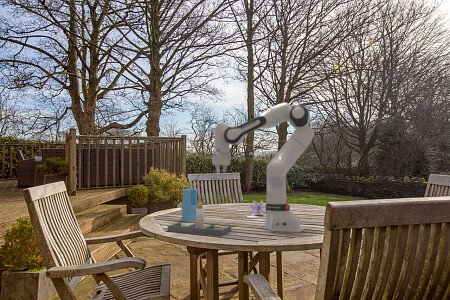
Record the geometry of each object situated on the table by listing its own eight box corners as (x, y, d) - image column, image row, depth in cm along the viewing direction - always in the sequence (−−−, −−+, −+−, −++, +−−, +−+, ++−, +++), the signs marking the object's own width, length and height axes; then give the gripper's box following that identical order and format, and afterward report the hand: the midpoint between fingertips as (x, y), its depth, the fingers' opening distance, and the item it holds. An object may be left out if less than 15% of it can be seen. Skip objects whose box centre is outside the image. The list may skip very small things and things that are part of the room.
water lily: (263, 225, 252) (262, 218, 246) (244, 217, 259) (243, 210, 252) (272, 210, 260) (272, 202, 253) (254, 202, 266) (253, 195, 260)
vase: (189, 222, 223) (190, 190, 224) (180, 221, 228) (181, 189, 229) (198, 220, 229) (198, 189, 230) (189, 219, 234) (189, 188, 235)
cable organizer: (232, 231, 194) (232, 225, 194) (221, 236, 181) (221, 230, 181) (180, 227, 206) (180, 221, 206) (167, 231, 193) (167, 225, 193)
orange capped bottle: (206, 228, 195) (206, 202, 195) (202, 230, 190) (202, 203, 190) (197, 227, 197) (197, 202, 197) (193, 229, 192) (193, 203, 192)
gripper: (219, 149, 206) (219, 173, 206) (232, 150, 225) (232, 172, 225) (209, 149, 209) (209, 172, 208) (223, 150, 228) (223, 172, 227)
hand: (221, 172), depth 217 cm, fingers open, 8 cm apart
